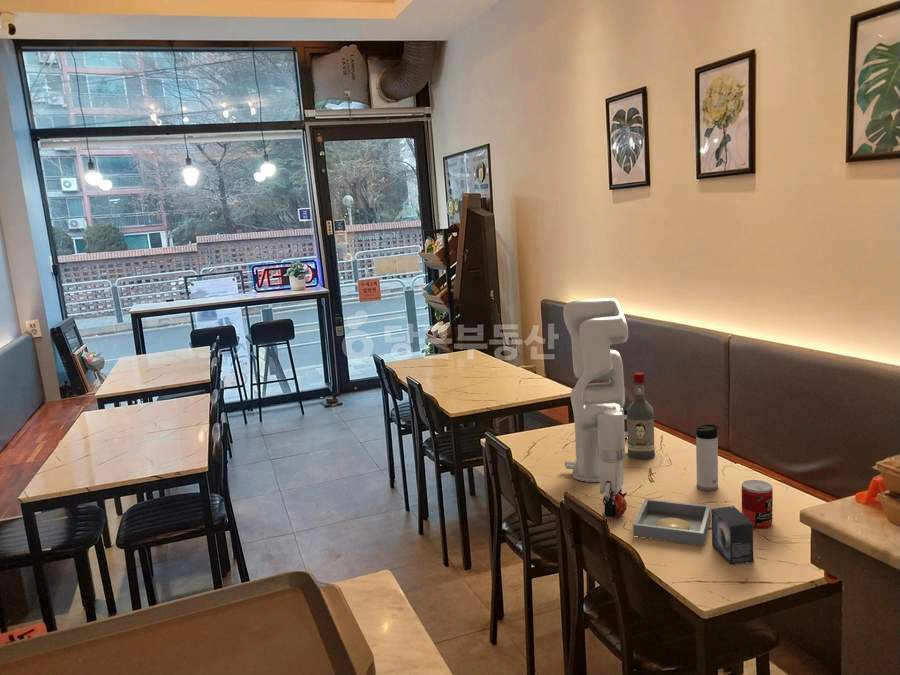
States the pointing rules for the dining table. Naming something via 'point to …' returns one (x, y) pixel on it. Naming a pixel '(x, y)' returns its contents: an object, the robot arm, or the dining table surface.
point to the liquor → (640, 423)
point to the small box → (732, 535)
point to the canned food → (757, 502)
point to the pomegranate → (619, 504)
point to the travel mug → (707, 457)
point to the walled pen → (673, 521)
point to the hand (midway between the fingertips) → (613, 510)
